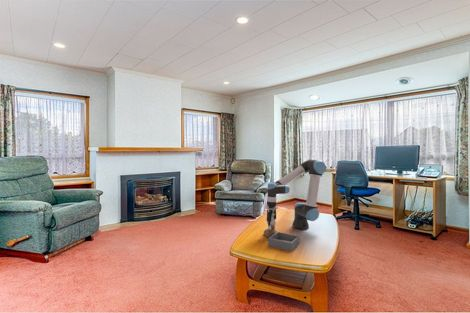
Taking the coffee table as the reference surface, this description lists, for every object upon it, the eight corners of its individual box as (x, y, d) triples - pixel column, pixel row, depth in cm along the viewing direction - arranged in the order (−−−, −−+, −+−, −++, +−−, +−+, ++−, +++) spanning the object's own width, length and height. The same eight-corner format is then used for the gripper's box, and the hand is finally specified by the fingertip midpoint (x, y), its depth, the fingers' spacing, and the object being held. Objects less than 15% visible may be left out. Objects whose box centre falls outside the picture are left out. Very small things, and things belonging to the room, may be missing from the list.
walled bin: (277, 238, 207) (277, 231, 207) (299, 243, 197) (299, 236, 197) (268, 245, 192) (268, 238, 192) (291, 251, 182) (291, 243, 182)
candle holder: (267, 237, 208) (267, 208, 208) (263, 233, 219) (263, 205, 218) (279, 236, 211) (280, 208, 210) (275, 232, 221) (275, 205, 220)
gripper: (272, 198, 224) (272, 224, 225) (262, 202, 207) (262, 230, 208) (280, 199, 220) (280, 225, 221) (270, 204, 203) (270, 232, 204)
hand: (271, 228), depth 215 cm, fingers closed on candle holder, 7 cm apart
